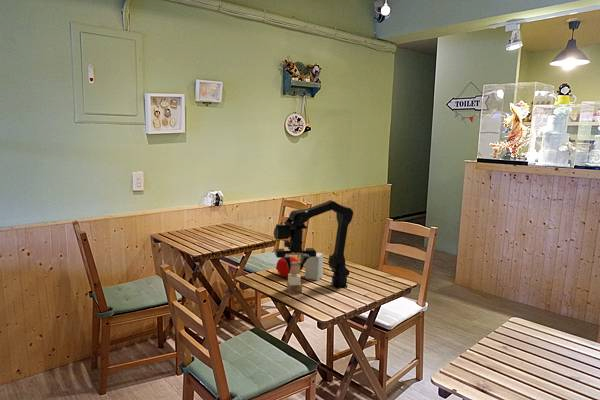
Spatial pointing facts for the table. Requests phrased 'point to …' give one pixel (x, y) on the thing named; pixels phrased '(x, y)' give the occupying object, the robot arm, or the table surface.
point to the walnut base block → (294, 289)
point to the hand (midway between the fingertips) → (295, 270)
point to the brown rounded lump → (295, 267)
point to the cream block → (294, 279)
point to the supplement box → (314, 267)
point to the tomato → (284, 266)
